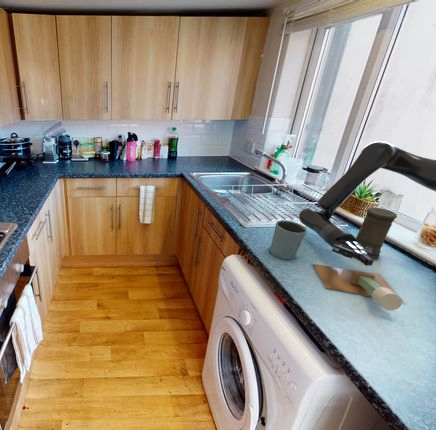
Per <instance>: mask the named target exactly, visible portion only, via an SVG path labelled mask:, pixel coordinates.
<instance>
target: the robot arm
mask: <svg viewBox="0 0 436 430" xmlns="http://www.w3.org/2000/svg"><path fill="white" fill-rule="evenodd" d="M380 169H383V170H387V171H390V172H392V173H397V174H399V175H401V176H404V177H406V178H407V179H409V180H411V181H413V182H414V183H416V184H418V185H420V186H421V187H424V188H425V189H428V190H431V191H433V192H436V159H433V158H428V157H424V156H420V155H417V154H415V153H411V152H409V151H406V150H404V149H402V148H400V147H398V146H395V145H394V144H392V143H390V142H387V141H374V142H370V143H368V144H367V145H366V146H364V147H363V149H362V150H361V152H360V153H359V155H358V156H357V158H356V159H355V161H354V162H353V163H352V165H351V166H350V167H349V169H347V171H346V172H345V173H344V174H343V175H342V176H341V177H340V178H339V179H337V181H336V182H335V183H334V184H332V185H331V187H329V188H328V189H327V190H326V191H325V192H324V193H323V195H322V196H321V197H319V199H318V200H317V205H318V206H319V207H320V208H321V210H320V211H319V210H316V209H314V208H310V207H307V208H303V209H302V210H300V212H299V214H298V220H299V222H300V224H301V225H303V226H304V227H307V228H309V229H310V230H313V232H314V233H316V234H317V235H318V236H319V237H320V238H321V239H322V240H323V241H324V242H325V243H326V244H328V246H330V247H331V248H332V249H331V252H332V253H333V252H334V253H336V254H339V255H341V256H343V257H346V258H347V259H354V260H357V261H359V262H360V263H362V265H364V266H365V267H367V266H368V267H372V266H373V264H374V262H375V261H374V260H375V259H371V258H370V255H371V253H372V248H373V247H371V246H368V247H363V246H362V245H361V244H359V243H357V242H356V236H354V235H353V234H352V233H350V232H349V231H348V230H346V229H345V228H343V227H342V226H341V225H338V224H337V223H336V222H334V221H332V220H331V218H332V217H333V215H334V213H335V212H336V210H337V209H338V208H339V207H340V206H341V205H342V204H343V203H345V201H347V200H348V198H350V197H351V195H352V194H353V193H354V192H355V191H356V190H357V188H358V187H359V186H360V185H361V184H362V183H363V182H364V181H366V179H368V178H369V177H370V176H371V175H373V174H374V173H376V172H377V171H378V170H380Z"/></svg>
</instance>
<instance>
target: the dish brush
mask: <svg viewBox="0 0 436 430" xmlns="http://www.w3.org/2000/svg"><path fill="white" fill-rule="evenodd" d="M358 271H359V270H354V271H353V274H352V277H351V281H350V282H351V283H352V284H354V285H360V286H362V287H363V288H364V289H365V290H367V291H368V292H369V293H370V294H371V295H372V297H371V298H372V300H373V301H374V302H375V303H376V304H377V305H379V306H380V307H381V308H382V309H384V310H387V311H395V310H397V309H399V308H400V307H401V306H402V304H403V300H402V297H401V296H400V295H399V294H397V293H396V292H395V291H394V290H393V291H394V292H395V293H396V294H395V293H394V292H393V291H391V290H390V289H388V288H385V287H382V286H380V285H379V284H378V283H376V282H375V281H374V277H375V276H374V275H373V274H374V273H373V274H370V273H371V272H366V273H364V272H365V271H360V272H358Z"/></svg>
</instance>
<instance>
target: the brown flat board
mask: <svg viewBox="0 0 436 430" xmlns="http://www.w3.org/2000/svg"><path fill="white" fill-rule="evenodd" d="M312 266H313V268H314V269H315V271H316V273H317V274H318V276H319V278H320V280H321V281H322V284H323V285H324V287H325V289H327V290H333V291H337V292H342V293H343V292H344V293H349V294H353V295H359V296H365V297H371V298H372V295H371V294H370V293H369V292H368V291H367V290H365V289H364V288H363V287H362V286H360V285H354V284H352V283H351V282H350V281H351V277H352V274H353V271H355V270H354V269H348V268H341V267H334V266H328V265H322V264H316V263H313V265H312ZM357 271H358V272H361V271H360V270H357ZM363 272H364V273H367V272H366V271H363ZM369 273H370V274H373V275H374V276H375V277H374V281H375V282H376V283H378V284H379V285H380V286H382V287H385V288H388V289H390V290H391V291H393V292H394V293H395V294H397V293H396V292H395V291H394V290H393V289H392V287H391V286H390V285H389V284H388V283H387V282H386V281H385V279H383V277H382V276H381V275H380V274H378V273H372V272H369Z"/></svg>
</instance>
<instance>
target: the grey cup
mask: <svg viewBox="0 0 436 430" xmlns="http://www.w3.org/2000/svg"><path fill="white" fill-rule="evenodd" d="M273 231H274V232H273V235H272V239H271V243H270V248H269V252H270V253H271V255H273V256H274V257H276V258H279V259H283V260H294V259H295V257H296V255H297V253H298V251H299V249H300V247H301V245H302V243H303V240H304V238H305V236H306V234H307V233H308V229H307V228H306V226H305V225H303V224H301V223H298V222H294V221H293V220H292V221H291V220H284V219H283V220H278V221H276V223H275V226H274V230H273Z"/></svg>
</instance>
